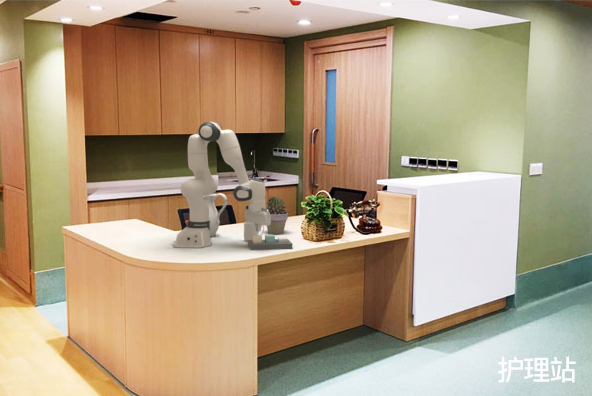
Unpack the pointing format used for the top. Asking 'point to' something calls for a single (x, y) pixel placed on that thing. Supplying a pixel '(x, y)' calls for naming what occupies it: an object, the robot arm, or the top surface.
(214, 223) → the pitcher
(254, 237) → the key left
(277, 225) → the potted plant
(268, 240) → the key mid
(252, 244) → the keypad
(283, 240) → the key right
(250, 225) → the mug
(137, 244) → the top surface
